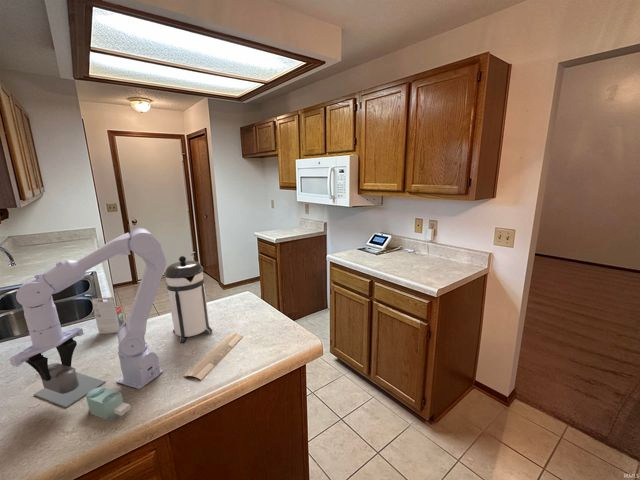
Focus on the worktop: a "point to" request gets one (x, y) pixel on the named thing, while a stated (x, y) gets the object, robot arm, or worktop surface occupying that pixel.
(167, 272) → the coffee press
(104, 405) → the teal plug
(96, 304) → the ink box
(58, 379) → the plug
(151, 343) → the worktop surface
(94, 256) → the robot arm
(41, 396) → the mat
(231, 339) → the wooden plank
